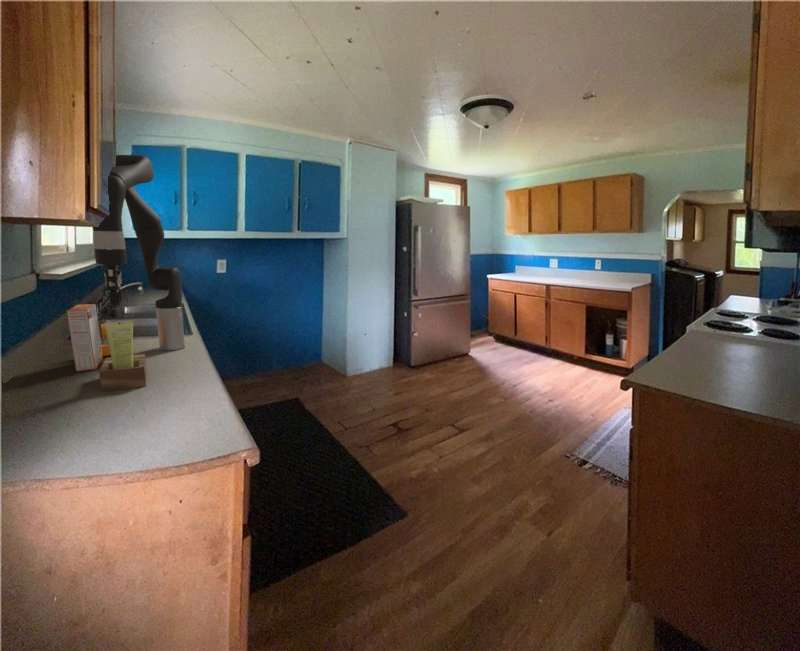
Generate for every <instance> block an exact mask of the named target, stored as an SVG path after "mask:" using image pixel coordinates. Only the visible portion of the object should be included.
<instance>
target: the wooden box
mask: <svg viewBox="0 0 800 651" xmlns="http://www.w3.org/2000/svg"><path fill="white" fill-rule="evenodd" d="M147 367H148V366H147V358H146V354H145V353H142V354H133V367H129V368H120V369H113V365H112V358H111V356H109V357H105V358H104V360H103V363H102V365H101V367H100V370H99V380H100V388H101V392H102V393H103V392H104V393H105V392H110V391H117V390H119V391H120V390H126V389H133V388H141V387H142V386H143V387H147V379H148V376H147V375H148V369H147Z"/></svg>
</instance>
